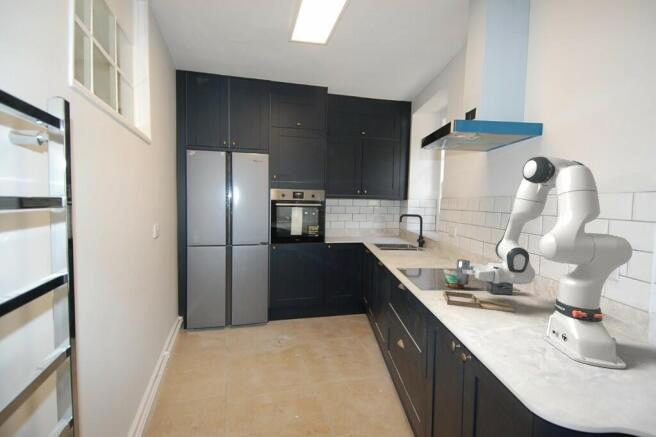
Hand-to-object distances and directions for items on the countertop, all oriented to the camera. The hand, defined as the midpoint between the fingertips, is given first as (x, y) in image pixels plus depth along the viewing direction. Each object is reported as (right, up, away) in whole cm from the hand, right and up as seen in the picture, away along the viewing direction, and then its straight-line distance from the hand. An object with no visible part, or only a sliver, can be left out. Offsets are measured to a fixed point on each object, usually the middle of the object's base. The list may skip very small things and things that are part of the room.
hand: (461, 269), depth 136 cm
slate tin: (+1, -7, 0) cm, 7 cm away
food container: (+7, -15, +21) cm, 27 cm away
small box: (+28, -16, +16) cm, 36 cm away
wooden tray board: (+7, -16, 0) cm, 18 cm away
